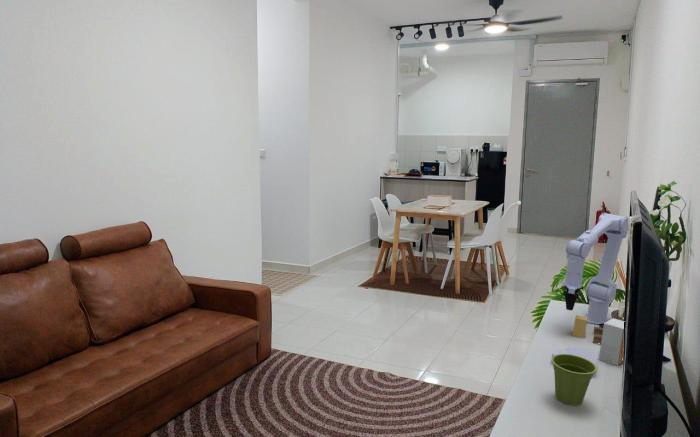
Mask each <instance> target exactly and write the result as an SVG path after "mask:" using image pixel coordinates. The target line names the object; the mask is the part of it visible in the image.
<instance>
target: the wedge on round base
mask: <svg viewBox="0 0 700 437" xmlns="http://www.w3.org/2000/svg"><path fill="white" fill-rule="evenodd" d="M557 354H571V355H576V356H580V357H583V358H585V359H587V360H589V361H591V362H593V363H594V364H595V365H596V366H597V357H598V351H595V350H589V349H585V348H580V347H576V346H571V345H568V346H567V349H559V348H558V349H554V350H553V351H552V354H551V358H552V357H553V356H554V355H557ZM550 361H551V362H550V364H551V365H553V362H552V359H551V360H550Z"/></svg>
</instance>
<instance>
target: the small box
mask: <svg viewBox="0 0 700 437" xmlns="http://www.w3.org/2000/svg"><path fill="white" fill-rule="evenodd" d="M624 322H625V321H624V320H621V319H617V318H615V317H613V318H611V319H609V320H607V322H606V323H604V325H603V327H602V328H603V334H602V340H601V344H600V348H599V352H598V353H599V354H598V360H600V361H602V362H606V363H608V364H611V365H615V366H617V365H618V366H619V365H620V364H621V363H623V362H622V358H623V333H624Z"/></svg>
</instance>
